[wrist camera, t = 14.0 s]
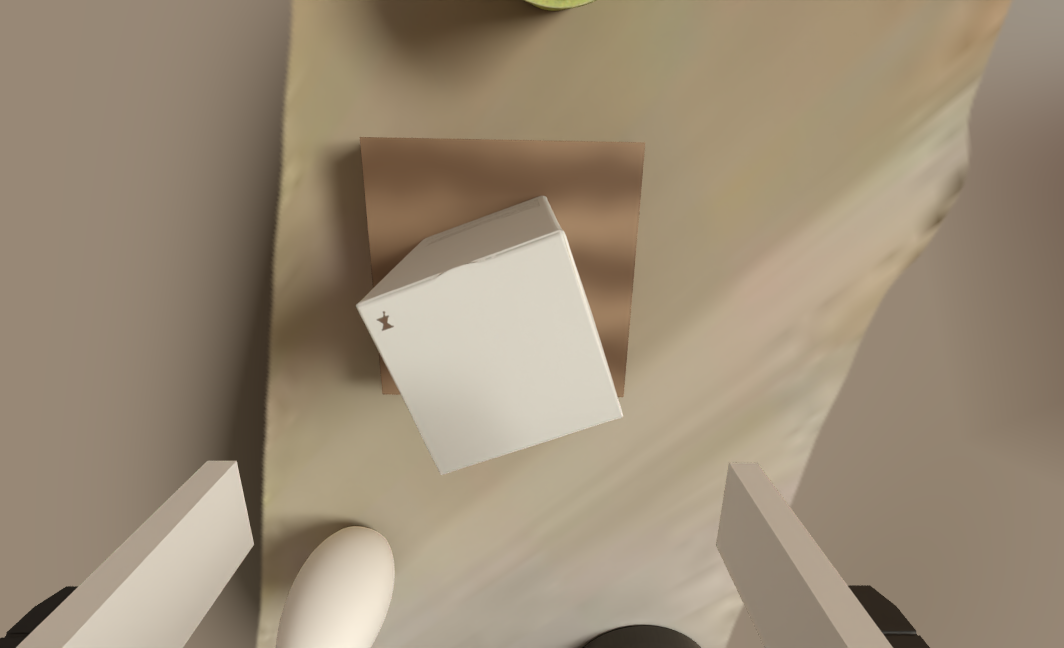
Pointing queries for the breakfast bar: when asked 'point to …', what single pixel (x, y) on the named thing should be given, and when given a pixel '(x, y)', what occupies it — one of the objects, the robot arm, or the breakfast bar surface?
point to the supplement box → (492, 338)
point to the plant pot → (558, 4)
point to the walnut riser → (501, 182)
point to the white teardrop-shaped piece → (340, 593)
